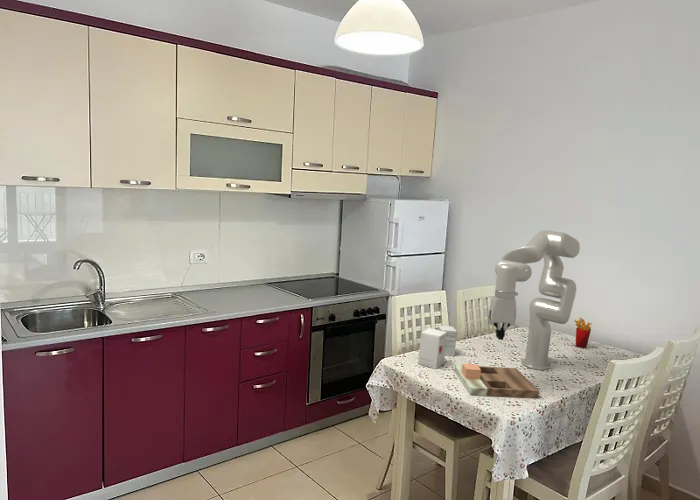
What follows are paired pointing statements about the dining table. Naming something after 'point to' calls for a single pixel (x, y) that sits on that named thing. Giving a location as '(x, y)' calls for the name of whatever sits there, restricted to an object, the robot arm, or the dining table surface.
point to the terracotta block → (471, 371)
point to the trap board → (498, 383)
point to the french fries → (582, 333)
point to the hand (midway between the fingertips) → (499, 338)
